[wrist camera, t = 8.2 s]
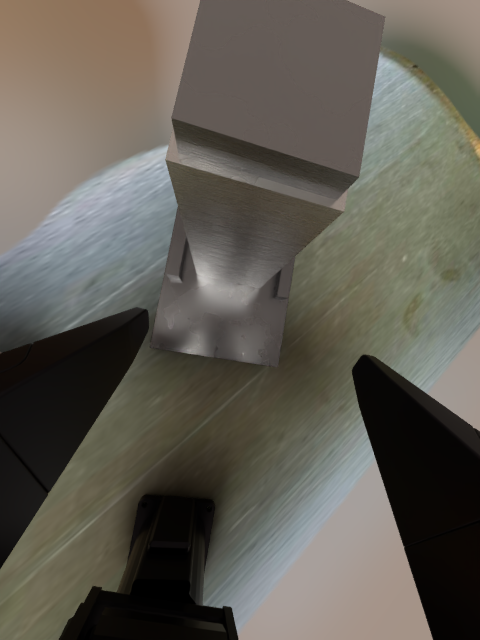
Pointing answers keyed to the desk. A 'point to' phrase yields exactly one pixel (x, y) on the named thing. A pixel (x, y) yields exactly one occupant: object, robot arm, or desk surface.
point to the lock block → (269, 128)
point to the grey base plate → (219, 311)
